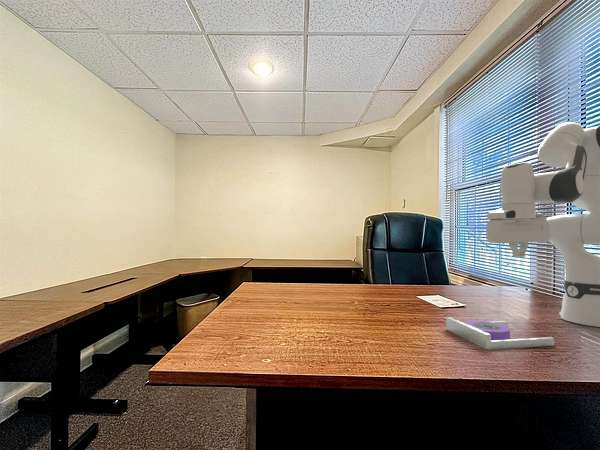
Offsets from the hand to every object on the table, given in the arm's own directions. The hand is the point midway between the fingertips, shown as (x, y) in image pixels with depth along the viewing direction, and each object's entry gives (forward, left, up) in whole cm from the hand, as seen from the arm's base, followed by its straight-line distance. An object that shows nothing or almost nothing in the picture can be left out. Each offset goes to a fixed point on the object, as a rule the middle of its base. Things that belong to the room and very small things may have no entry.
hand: (518, 256), depth 96 cm
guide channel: (+9, +2, -24) cm, 26 cm away
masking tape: (+13, +2, -25) cm, 28 cm away
